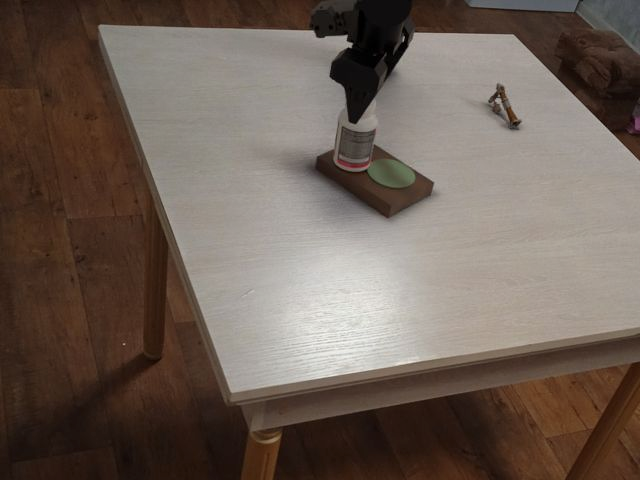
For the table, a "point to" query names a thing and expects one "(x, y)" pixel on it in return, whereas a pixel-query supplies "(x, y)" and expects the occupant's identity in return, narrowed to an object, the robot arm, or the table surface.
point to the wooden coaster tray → (379, 181)
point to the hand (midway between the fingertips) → (362, 108)
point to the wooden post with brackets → (506, 104)
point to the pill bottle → (355, 140)
